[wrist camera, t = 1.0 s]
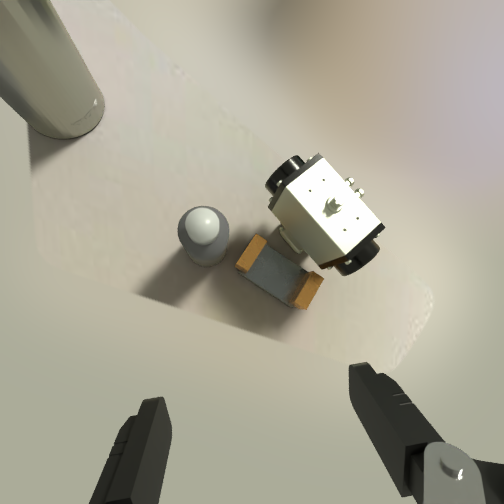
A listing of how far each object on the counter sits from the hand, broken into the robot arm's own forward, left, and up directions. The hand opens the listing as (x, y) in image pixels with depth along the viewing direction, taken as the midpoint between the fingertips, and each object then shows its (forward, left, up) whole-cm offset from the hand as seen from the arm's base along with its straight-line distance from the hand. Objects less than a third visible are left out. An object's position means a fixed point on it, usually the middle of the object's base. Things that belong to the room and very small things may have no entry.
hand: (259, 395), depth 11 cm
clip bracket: (0, +9, -19) cm, 21 cm away
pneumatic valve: (0, +15, -20) cm, 25 cm away
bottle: (-8, +7, -19) cm, 22 cm away
